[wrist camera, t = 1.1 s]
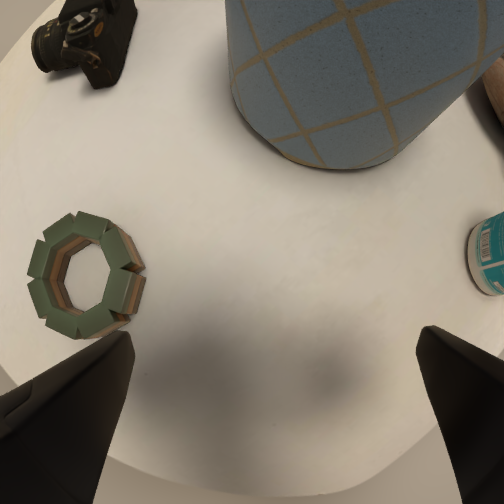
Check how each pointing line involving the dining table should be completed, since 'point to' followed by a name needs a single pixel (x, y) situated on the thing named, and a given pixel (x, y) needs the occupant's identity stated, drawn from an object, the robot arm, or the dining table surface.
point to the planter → (355, 71)
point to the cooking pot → (496, 87)
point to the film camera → (87, 39)
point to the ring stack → (54, 269)
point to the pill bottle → (488, 255)
